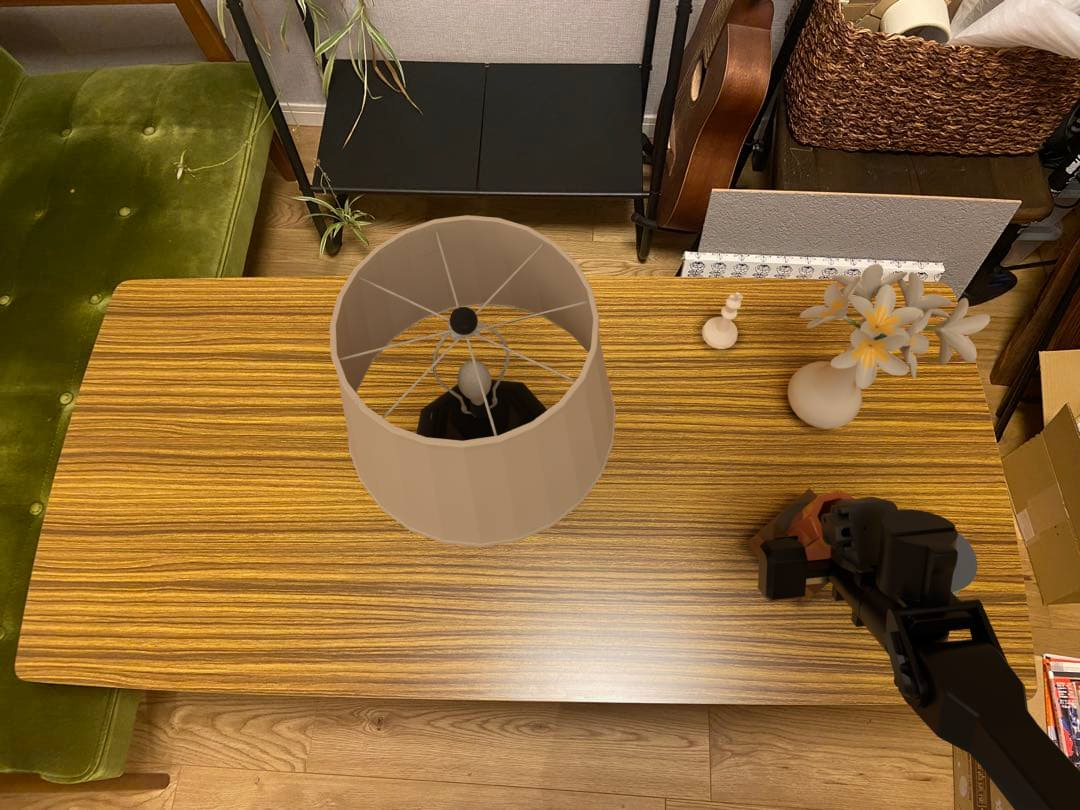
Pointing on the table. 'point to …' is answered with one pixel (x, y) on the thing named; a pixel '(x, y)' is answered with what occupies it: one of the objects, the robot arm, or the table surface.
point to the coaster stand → (785, 522)
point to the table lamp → (473, 384)
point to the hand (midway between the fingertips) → (815, 522)
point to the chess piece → (723, 325)
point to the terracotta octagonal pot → (815, 525)
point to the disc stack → (964, 565)
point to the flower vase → (875, 342)
